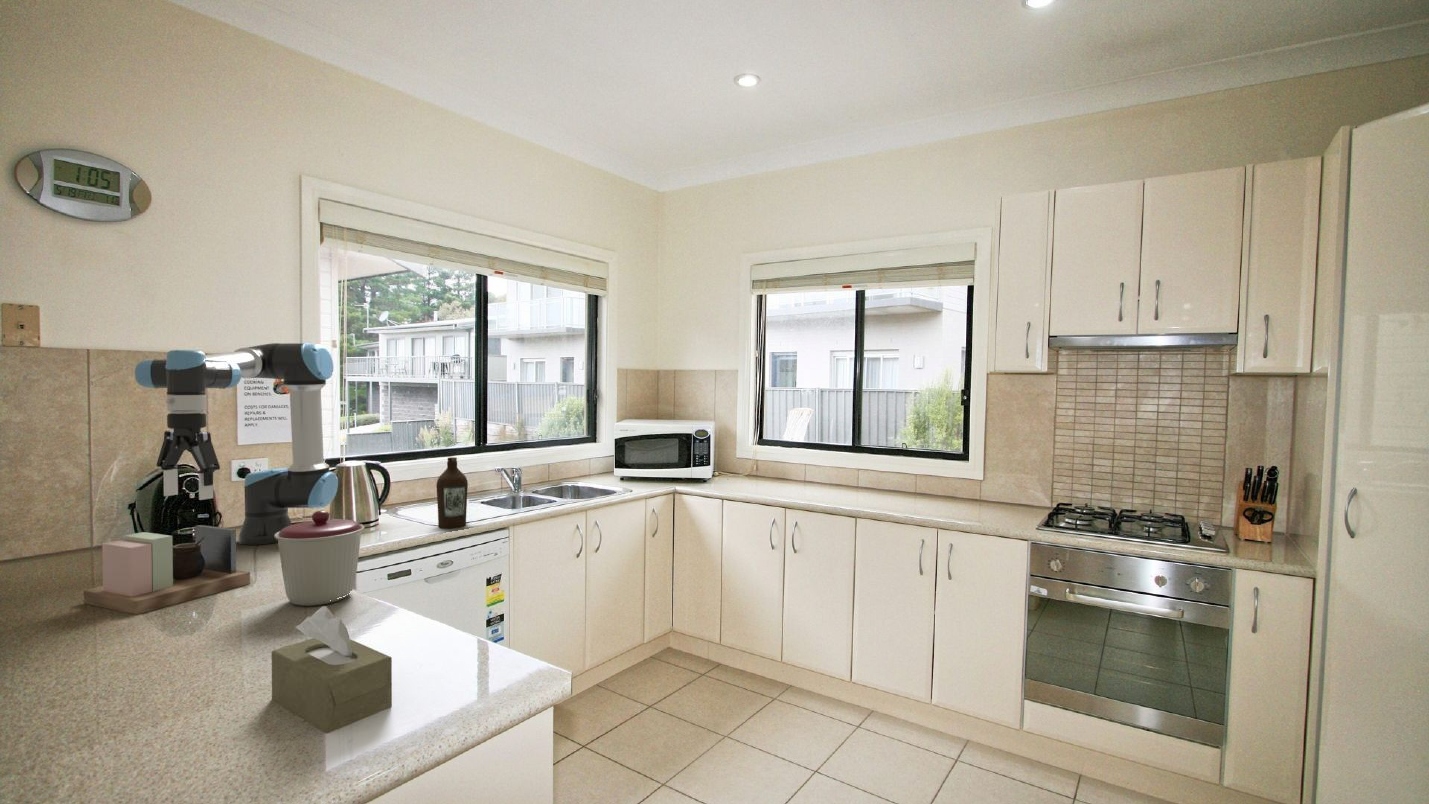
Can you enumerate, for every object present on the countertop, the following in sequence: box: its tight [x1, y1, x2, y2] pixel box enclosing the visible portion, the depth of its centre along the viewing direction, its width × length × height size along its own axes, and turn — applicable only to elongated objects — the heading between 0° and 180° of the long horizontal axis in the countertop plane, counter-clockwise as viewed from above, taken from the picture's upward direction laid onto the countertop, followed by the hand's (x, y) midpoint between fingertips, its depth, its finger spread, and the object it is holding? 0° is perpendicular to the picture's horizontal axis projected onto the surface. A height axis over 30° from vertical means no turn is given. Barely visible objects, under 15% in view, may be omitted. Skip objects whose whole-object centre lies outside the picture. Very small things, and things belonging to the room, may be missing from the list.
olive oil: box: [435, 456, 469, 529], centre depth 233 cm, size 11×11×25 cm
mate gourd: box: [173, 537, 205, 579], centre depth 158 cm, size 7×8×10 cm
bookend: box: [194, 524, 237, 574], centre depth 164 cm, size 1×14×11 cm, turn 69°
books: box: [101, 531, 174, 597], centre depth 148 cm, size 8×11×12 cm
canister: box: [274, 510, 365, 607], centre depth 151 cm, size 18×18×21 cm
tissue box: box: [271, 605, 393, 734], centre depth 101 cm, size 19×10×16 cm, turn 56°
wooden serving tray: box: [83, 569, 251, 615], centre depth 155 cm, size 24×20×3 cm
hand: (188, 497), depth 159 cm, fingers open, 13 cm apart
